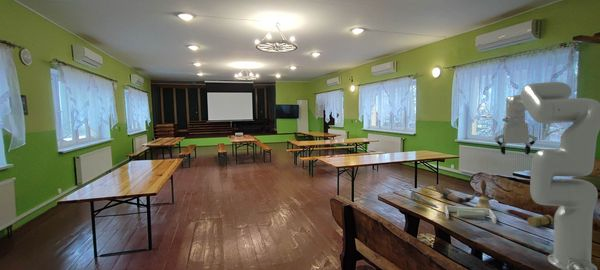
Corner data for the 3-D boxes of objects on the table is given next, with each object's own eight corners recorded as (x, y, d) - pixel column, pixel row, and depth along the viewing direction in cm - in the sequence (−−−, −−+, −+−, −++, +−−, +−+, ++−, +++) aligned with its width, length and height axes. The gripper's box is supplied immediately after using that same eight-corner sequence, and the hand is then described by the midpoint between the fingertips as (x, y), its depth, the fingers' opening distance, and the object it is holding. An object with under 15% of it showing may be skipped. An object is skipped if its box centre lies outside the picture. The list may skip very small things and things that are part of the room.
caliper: (410, 199, 178) (410, 189, 178) (412, 198, 179) (411, 189, 178) (437, 208, 159) (437, 198, 159) (438, 208, 160) (438, 197, 159)
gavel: (498, 206, 149) (514, 205, 150) (498, 215, 149) (514, 213, 150) (536, 218, 128) (554, 216, 129) (536, 228, 128) (555, 226, 129)
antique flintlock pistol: (439, 194, 184) (439, 179, 183) (481, 208, 156) (481, 191, 155) (433, 195, 182) (433, 181, 181) (474, 209, 154) (474, 192, 153)
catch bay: (496, 223, 135) (496, 217, 134) (447, 218, 143) (446, 213, 143) (490, 214, 146) (490, 208, 146) (445, 210, 155) (444, 205, 155)
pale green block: (484, 219, 141) (484, 212, 140) (458, 217, 145) (458, 210, 145) (482, 216, 145) (482, 209, 145) (456, 214, 150) (456, 207, 150)
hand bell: (476, 209, 155) (476, 181, 154) (474, 204, 162) (474, 178, 161) (494, 210, 151) (494, 182, 150) (490, 205, 159) (490, 178, 158)
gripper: (496, 121, 137) (496, 155, 138) (540, 120, 130) (539, 155, 131) (492, 120, 143) (492, 152, 145) (534, 119, 136) (533, 153, 138)
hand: (515, 154), depth 138 cm, fingers open, 9 cm apart
